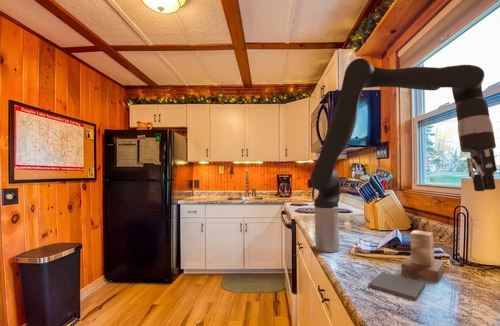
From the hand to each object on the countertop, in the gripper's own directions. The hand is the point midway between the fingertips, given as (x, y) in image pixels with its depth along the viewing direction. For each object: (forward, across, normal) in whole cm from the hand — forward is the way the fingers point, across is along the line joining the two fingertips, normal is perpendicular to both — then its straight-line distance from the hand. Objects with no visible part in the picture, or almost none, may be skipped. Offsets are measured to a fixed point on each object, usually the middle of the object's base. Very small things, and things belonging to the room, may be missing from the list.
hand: (484, 190), depth 70 cm
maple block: (+21, -4, -16) cm, 27 cm away
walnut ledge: (+24, -4, -16) cm, 30 cm away
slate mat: (+26, +10, -24) cm, 36 cm away
